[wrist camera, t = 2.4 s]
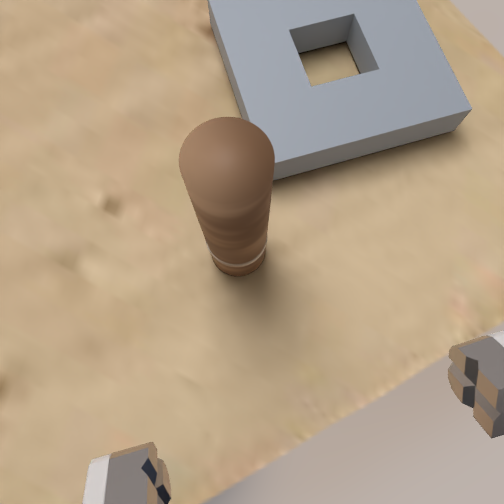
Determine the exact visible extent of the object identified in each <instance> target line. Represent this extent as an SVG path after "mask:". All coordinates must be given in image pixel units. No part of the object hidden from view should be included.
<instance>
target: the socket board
mask: <svg viewBox="0 0 504 504" xmlns="http://www.w3.org/2000/svg"><path fill="white" fill-rule="evenodd" d="M208 8H209V16H210V23H211V26H212V29H213V32H214V35H215V38H216V41H217V44H218V47H219V50H220V53H221V56H222V59H223V62H224V65H225V68H226V71H227V74H228V77H229V80H230V83H231V86H232V89H233V92H234V95H235V98H236V101H237V104H238V107H239V110H240V113H241V116H242V119H244V120H247V121H249V122H251V123H253V124H255V125H256V126H258V127H259V128H260V129H261V130H262V131H263V132H264V133H265V134H266V135H267V136H268V138H269V140H270V141H271V144H272V146H273V149H274V154H275V166H274V175H273V181H274V180H277V179H281V178H284V177H288V176H292V175H295V174H299V173H302V172H306V171H310V170H313V169H317V168H321V167H324V166H328V165H331V164H335V163H339V162H342V161H346V160H349V159H353V158H357V157H360V156H364V155H367V154H371V153H375V152H378V151H382V150H386V149H389V148H393V147H396V146H400V145H404V144H407V143H411V142H414V141H418V140H422V139H425V138H429V137H433V136H436V135H440V134H443V133H447V132H451V131H454V130H455V129H456V128H457V126H458V125H459V124H460V123H461V122H462V120H463V119H464V118H465V117H466V116H467V115H468V113H469V112H470V111H471V110H472V108H471V106H470V104H469V102H468V100H467V98H466V96H465V94H464V92H463V90H462V88H461V86H460V84H459V82H458V80H457V78H456V76H455V74H454V73H453V71H452V69H451V67H450V65H449V63H448V61H447V59H446V57H445V55H444V53H443V51H442V49H441V47H440V45H439V43H438V41H437V39H436V37H435V36H434V34H433V32H432V30H431V28H430V26H429V24H428V22H427V20H426V18H425V16H424V14H423V12H422V10H421V8H420V6H419V4H418V2H417V1H416V0H208ZM345 41H346V42H347V44H348V46H349V48H350V51H351V53H352V55H353V58H354V60H355V62H356V64H357V67H358V69H359V71H360V73H361V74H358V75H355V76H351V77H347V78H343V79H339V80H335V81H332V82H328V83H324V84H320V85H316V86H312V87H311V85H310V82H309V80H308V77H307V75H306V72H305V70H304V67H303V64H302V62H301V59H300V57H299V54H298V53H301V52H305V51H309V50H313V49H317V48H321V47H325V46H329V45H333V44H337V43H341V42H345Z"/></svg>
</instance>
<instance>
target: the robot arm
mask: <svg viewBox="0 0 504 504" xmlns="http://www.w3.org/2000/svg"><path fill="white" fill-rule="evenodd" d="M449 358H450V359H451V360H452V361H453V363H452V364H451V366H450V367H449V368H448V379H449V382H450V385H451V388H452V390H453V391H454V393H455V395H456V396H457V397H458V399H459V400H460V401H461V402H462V403H463V404H465V405H467V406H470V407H472V408H473V417H474V418H475V419H476V421H477V422H478V423H479V424H480V425H481V427H482V428H483V429H484V430H485V431H486V433H487V434H488V435H489V436H490V437H491V438H495V437H498V436H501V435H504V330H502V331H499V332H496V333H492V334H489V335H487V336H482V337H479V338H476V339H473V340H470V341H467V342H464V343H461V344H458V345H455V346H452V347H451V348H450V350H449ZM170 499H171V486H170V480H169V474H168V471H167V468H166V465H165V463H164V461H163V460H162V459H159V458H157V448H156V446H155V445H154V443H153V442H149V443H146V444H142V445H139V446H135V447H132V448H128V449H125V450H121V451H118V452H114V453H111V454H108V455H105V456H101V457H98V458H95V459H92V460H91V462H90V465H89V467H88V472H87V478H86V484H85V490H84V496H83V502H82V504H168V503H169V501H170Z"/></svg>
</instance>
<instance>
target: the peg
mask: <svg viewBox="0 0 504 504" xmlns="http://www.w3.org/2000/svg"><path fill="white" fill-rule="evenodd" d="M274 166H275V154H274V149H273V146H272V144H271V141H270V140H269V138H268V136H267V135H266V134H265V133H264V132H263V131H262V130H261V129H260V128H259V127H258V126H256V125H255V124H253V123H251V122H249V121H247V120H244V119H240V118H235V117H220V118H215V119H212V120H209V121H206V122H204V123H202V124H201V125H199V126H197V127H196V128H195V129H194V130H193V131H192V132H191V133H190V134H189V135H188V136H187V138H186V139H185V141H184V143H183V145H182V147H181V150H180V154H179V167H180V172H181V175H182V178H183V180H184V183H185V186H186V188H187V191H188V194H189V196H190V199H191V202H192V204H193V207H194V210H195V212H196V215H197V218H198V221H199V223H200V226H201V229H202V231H203V234H204V237H205V239H206V243H207V246H208V249H209V251H210V253H211V256H212V258H213V261H214V263H215V264H216V266H217V267H218V268H219V269H220V270H221V271H223V272H224V273H227V274H229V275H233V276H243V275H247V274H249V273H251V272H253V271H254V270H256V269H257V268H258V267H259V266H260V264H261V263H262V261H263V259H264V255H265V248H266V242H267V230H268V220H269V211H270V202H271V193H272V184H273V175H274Z"/></svg>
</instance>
